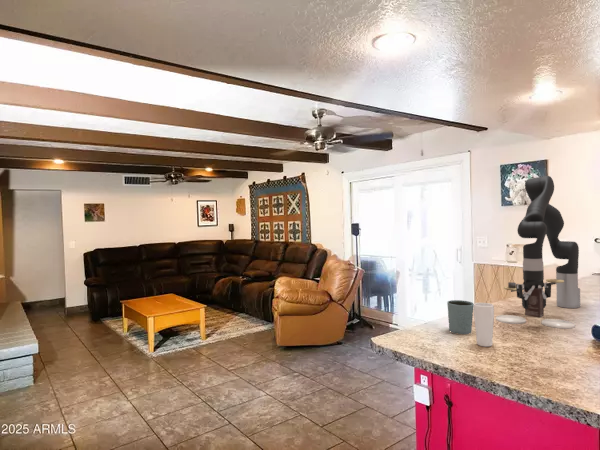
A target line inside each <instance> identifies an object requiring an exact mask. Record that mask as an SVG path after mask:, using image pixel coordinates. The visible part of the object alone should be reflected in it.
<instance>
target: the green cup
mask: <svg viewBox="0 0 600 450" xmlns="http://www.w3.org/2000/svg"><path fill="white" fill-rule="evenodd" d="M446 303H447V304H446V305H447V314H448V329H449V332H450V331H451V332H450V333H452V332H453V334H456V333H458V334H457V335H469V333H470V334H472V331H473V327H472V326H473V318H474V304H475V303H474V302H471V301H467V300H460V299H459V300H458V299H455V300H453V299H452V300H448V301H447V302H446Z"/></svg>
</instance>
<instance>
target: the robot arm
mask: <svg viewBox="0 0 600 450" xmlns="http://www.w3.org/2000/svg"><path fill="white" fill-rule="evenodd" d="M524 187H525V188H524V189H525V191H526V194H527V196H528V198H529V199H530V201H531V202H530V203H529V204H528V206H527V208H526V213H525V215H524V217H523V218H522V219H521V221H519V224H518V226H517V234H518V236H519V237H520V238H521V239H536V241H534V242H532V243H527V244H524V245H523V246H522V256H523V257H522V258H523V261H522V280H523V282H522V283H516V291H515V292H516V298H518V299H521V307H522V308H523V309H524V310H525V309H528V300H527V299H528V297H529V296H530V295H531V293H532V291H533V290H534V288H543V289H542V295H543V307H544V309H545V308H546V307H547V299H548V298H551V296H552V285H551V282H546V281H545V282H544V279H545V275H544V274H545V273H544V261H543V246H544V241H545V237H547V240H548V244H549V247H550V250H551V253H552V256H553V257H554V258H555V259H557V260H567V263H565V264H563V265H559V266H558V265H557V266H556V267H555V272H556V273H555V277H556V278H555V279H559V280H564V282H563V283H556V284H555V285H556V288H555V289H556V307H561V308H567V309H577V308H581V288H580V287H579V274H578V273H579V258H580V257H579V254H580V252H579V251H580V250H579V249H580V248H579V244H578V243H577V242H576V241H570V240H569V241H564V240H563V241H562V240H560V239H559V235H560V233H561V232H562V231H563V228H564V225H565V221H564V218H563V216H562V214H561V212H560V210H559V209H557V208H556V207H555V206H553V205H552V204H550V202H551V199H552V198H553V197H552V196H553V195H554V193H555V192H554V191H555V184H554V180H553V178H552V177H551V176H550V175H542V176H538V177H533V178H528V179H526V181H525V182H524ZM523 287H524V288H525V289H526V290H527V291H528V292H525V291H524V290H522V289H523Z"/></svg>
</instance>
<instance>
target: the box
mask: <svg viewBox="0 0 600 450" xmlns="http://www.w3.org/2000/svg"><path fill="white" fill-rule="evenodd" d="M542 289H543V290H544V287H543V288H534V290H533V291H532V293H531V295H530V296H529V297H528V299H527V300H528V309H525V308H524V310H525V315H527V316H526V317H528V316H534V317H533V318H541V317H543V316H545V312H544V310H545V308H544V307H543V295H542ZM523 291H525V292H528V291H527V290H526V289H525V288H524V290H523Z"/></svg>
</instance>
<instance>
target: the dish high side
mask: <svg viewBox="0 0 600 450" xmlns="http://www.w3.org/2000/svg"><path fill="white" fill-rule="evenodd" d="M541 325H543V326H545V327H549V328H554V329H574V328H576V324H575V322H573V321H569V320H564V319H558V318H545V319H544V318H543V319H541Z"/></svg>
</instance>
